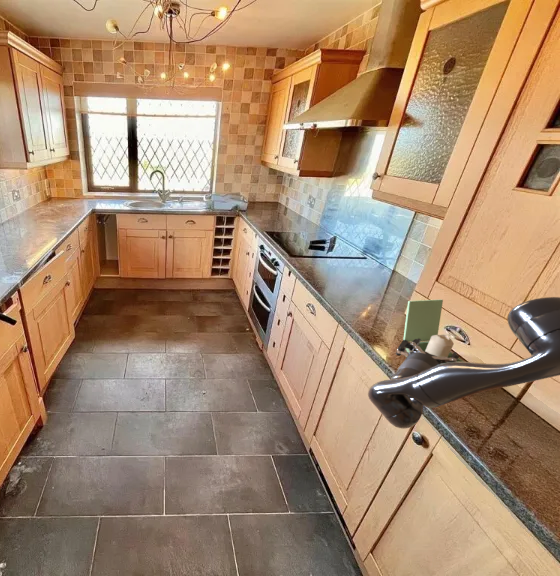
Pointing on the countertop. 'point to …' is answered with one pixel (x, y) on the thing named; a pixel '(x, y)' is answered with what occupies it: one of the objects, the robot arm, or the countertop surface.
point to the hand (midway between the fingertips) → (436, 347)
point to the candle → (439, 345)
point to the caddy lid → (422, 319)
